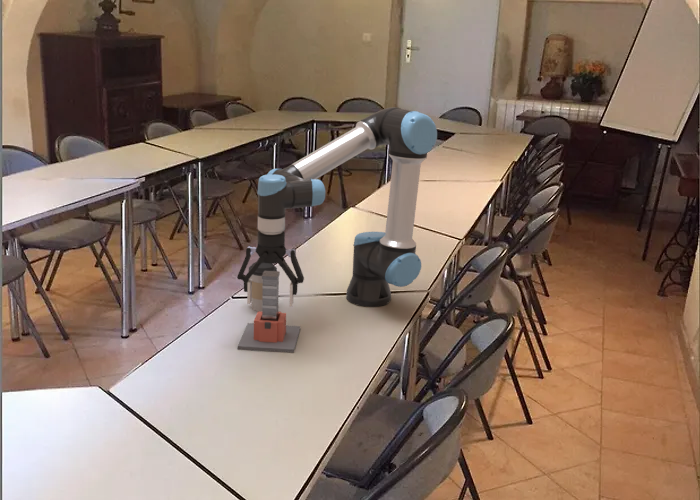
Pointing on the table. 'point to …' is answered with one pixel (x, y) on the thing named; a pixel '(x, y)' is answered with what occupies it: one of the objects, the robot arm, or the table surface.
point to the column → (270, 295)
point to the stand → (269, 335)
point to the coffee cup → (259, 284)
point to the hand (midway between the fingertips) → (270, 303)
